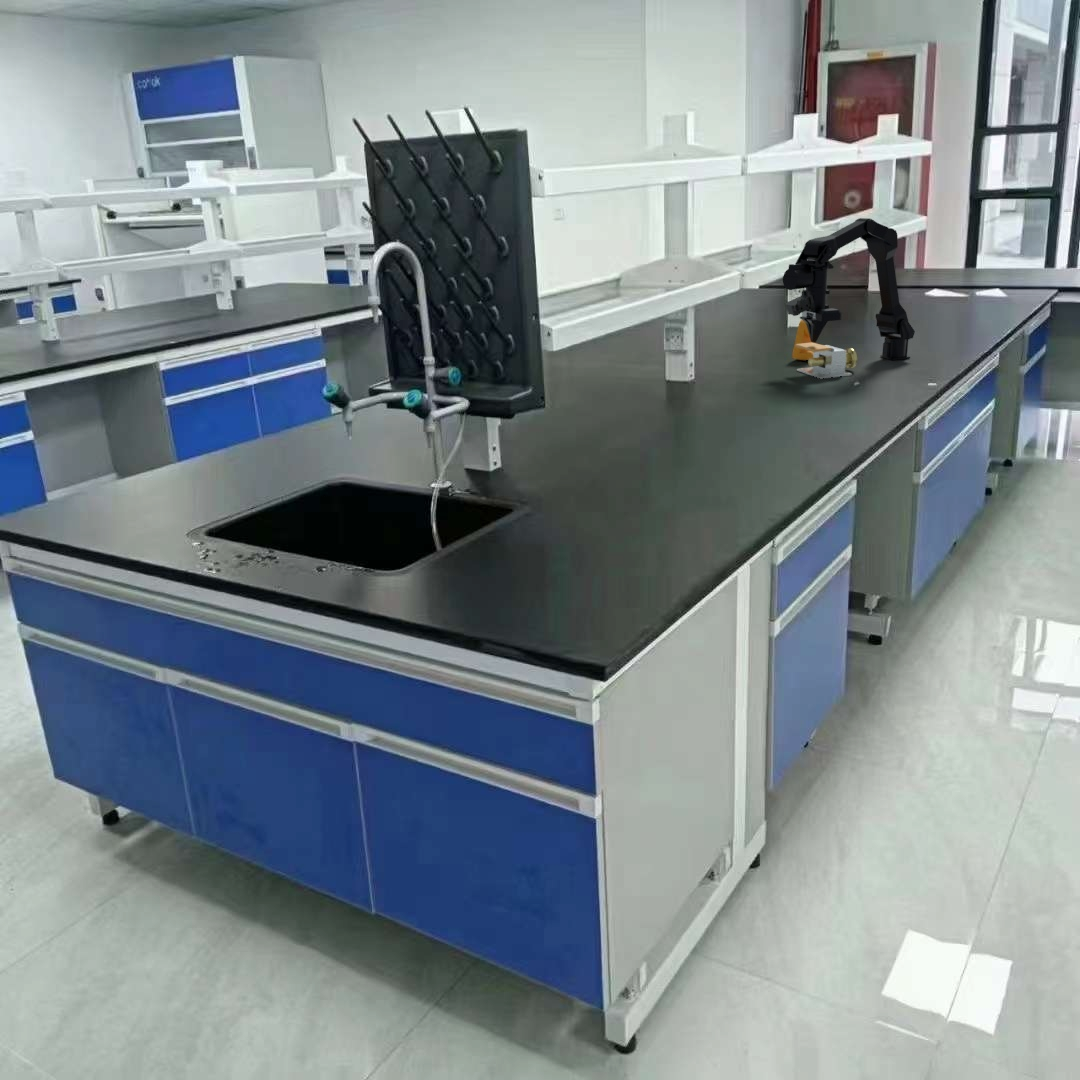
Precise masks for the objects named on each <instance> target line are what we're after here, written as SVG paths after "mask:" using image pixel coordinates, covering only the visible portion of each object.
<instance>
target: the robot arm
mask: <svg viewBox="0 0 1080 1080" xmlns="http://www.w3.org/2000/svg"><path fill="white" fill-rule="evenodd" d="M859 238H860V239H861V240H863V241H864V242H866V247H867V250H868V253H869V254H870V256H871V257H872V258H873V259H874V261H875V266H876V267H875V268H876V274H877V280H878V288H879V295H880V302H881V304H880V305H881V307H880V310H879V312H878V313H876V314H875V319H876V327H878V331H879V335H880V337H882V338H884V340H883V341H884V342H883V343H882V354H880V355H879V356H880V358H884V359H886V360H891V361H896V360H898V361H899V360H906V359H910V358H911V356H910V355H908V351H909V340H911V339H913V338H914V335H915V333H916V332H915V329H914V328H913V327H912V325H911V324H910V322H909V318H908V314H907V312H906V309H904V307H903V306H902V304H901V303H900V299H899V291H898V283H897V276H896V275H897V273H896V268H895V261H894V260H895V259H894V256H895V254H896V252H897V250H898V245H899V244H898V243H899V242H898V233H897V230H895V229H894V228H890V227H888V226H886V225H883V224H881V223H879V222H876V221H875V220H874V219H872V218H867V217H866V218H863V217H859V218H857V219H855V220H854V221H853V222H851V223H849V224H848V225H846V226H844V227H842V228H840V229H838V230H836V231H834V232H833V233H831V234H829V235H825V236H819V237H815V238H812V239H808V240H807V241H806V242H805V244H804V247H803V249H802V251H801V252H800V255H799V256H798V259H797V260H796V261H795V263H790V264H788V269H786V271H785V272H784V274H783V276H782V284H783V286H784V287H785V289H786V290H789V291H793V290H794V291H795V290H801V289H802V291H801V296H799V297H798V296H797V297H795V298H793V299H791V300H789V301H787V302H785V307H786V312H787V314H788V315H791V316H793V317H796V316H799V319H800V320H803V321H804V322H805V323H806V325H807V328H808V332H809V336H810V340H811V342H812V343H815V342H816V343H817V341H818V339H819V337H820V335H821V333H822V331H823V330H824V328H825V326H826V325H827V323H828V322H833V321H841V320H842V317H843V313H842V311H841V310H840V309H837V308H833V307H832V308H830V305H829V304H827V295H830V294H831V290H829V289H828V273H829V272H828V271H829V270H832V269H834V268H835V267H834V265H833V264H832V263H831V262H830V260H831V259H833V258H834V257H835V256H836V254H837V253H838V251H839V250H840V249H841V248H844V247H845V246H847V245H849V244H850V243H852V242H854V241H856V240H859ZM800 314H801V316H800Z"/></svg>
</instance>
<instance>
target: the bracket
mask: <svg viewBox="0 0 1080 1080" xmlns="http://www.w3.org/2000/svg"><path fill="white" fill-rule="evenodd" d="M802 343H811V340H810V336H809V332H808V328H807V325H806V323H805V322H804V321H803V320H802V319H800V321H799V322H798V326H797V331H796V336H795V340H794V345H793V350H792V359H793V360H797V361H798V360H799V361H806V360H809V359H810V358H813V352H811V351H808V350H805V349H802V348H798V347H795V344H802ZM815 343H817V341H816V342H815Z"/></svg>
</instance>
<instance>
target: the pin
mask: <svg viewBox="0 0 1080 1080" xmlns="http://www.w3.org/2000/svg"><path fill="white" fill-rule="evenodd" d="M845 350H846V365H845V368H847V369H851V368H852V369H853V368H855V367H856V366H857V363H858V354H857V352H856V350H855V349H854V348H852V347H850V348H846V349H845ZM807 364H808V367H813V366H822V365H825V364H826V357H817V358H810V359H809V360H808V361H807Z"/></svg>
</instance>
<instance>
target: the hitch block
mask: <svg viewBox="0 0 1080 1080" xmlns="http://www.w3.org/2000/svg"><path fill="white" fill-rule="evenodd" d="M823 345H824V344H823ZM824 346H827V347H830V348H833V349H834V351H833V352H831V351H819V352H813V358H817V357H826V364H825V365H822V366H813V367H810V366H808V367H801V368H797V369H796V371H797V372H800V373H803V374H805V375H808V376H810V377H813V376H814V378H816V377H817V379H819V378H820V379H819V380H823V378H824V379H831V377H833V378H840V376H842V377H850V376H852V375H853V374H852V372H849V371H846V366H845V365H846V349H843V348H839V347H836V346H832V345H829V344H825V345H824Z"/></svg>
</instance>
